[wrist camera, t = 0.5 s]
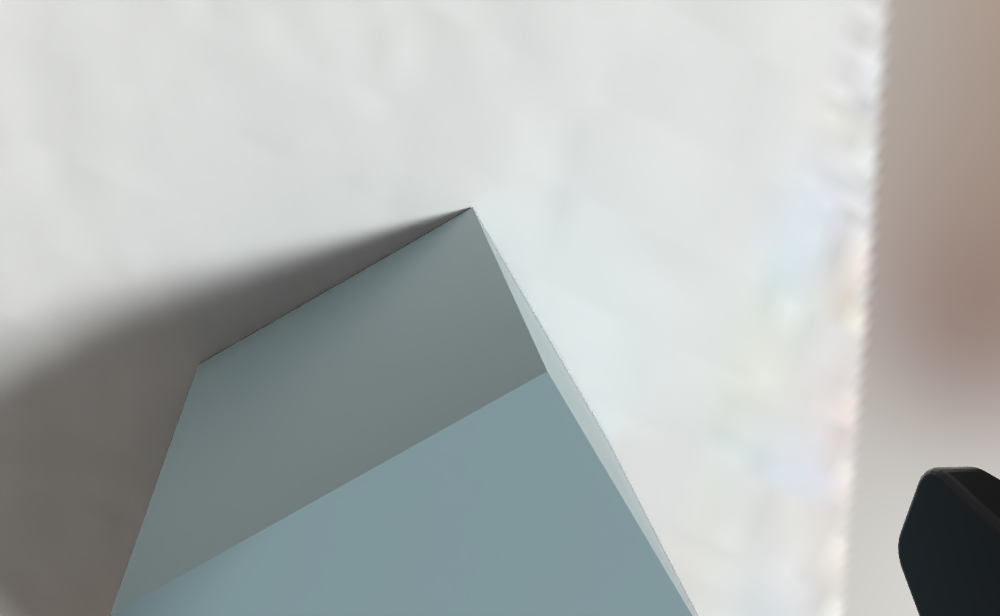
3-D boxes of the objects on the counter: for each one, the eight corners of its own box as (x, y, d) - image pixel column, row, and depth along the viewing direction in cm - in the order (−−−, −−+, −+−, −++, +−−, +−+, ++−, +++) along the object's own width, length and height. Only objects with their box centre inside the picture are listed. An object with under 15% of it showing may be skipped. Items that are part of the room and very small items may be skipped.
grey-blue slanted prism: (366, 574, 25) (373, 879, 17) (198, 364, 22) (109, 615, 14) (608, 440, 24) (734, 687, 16) (472, 207, 21) (547, 371, 13)
